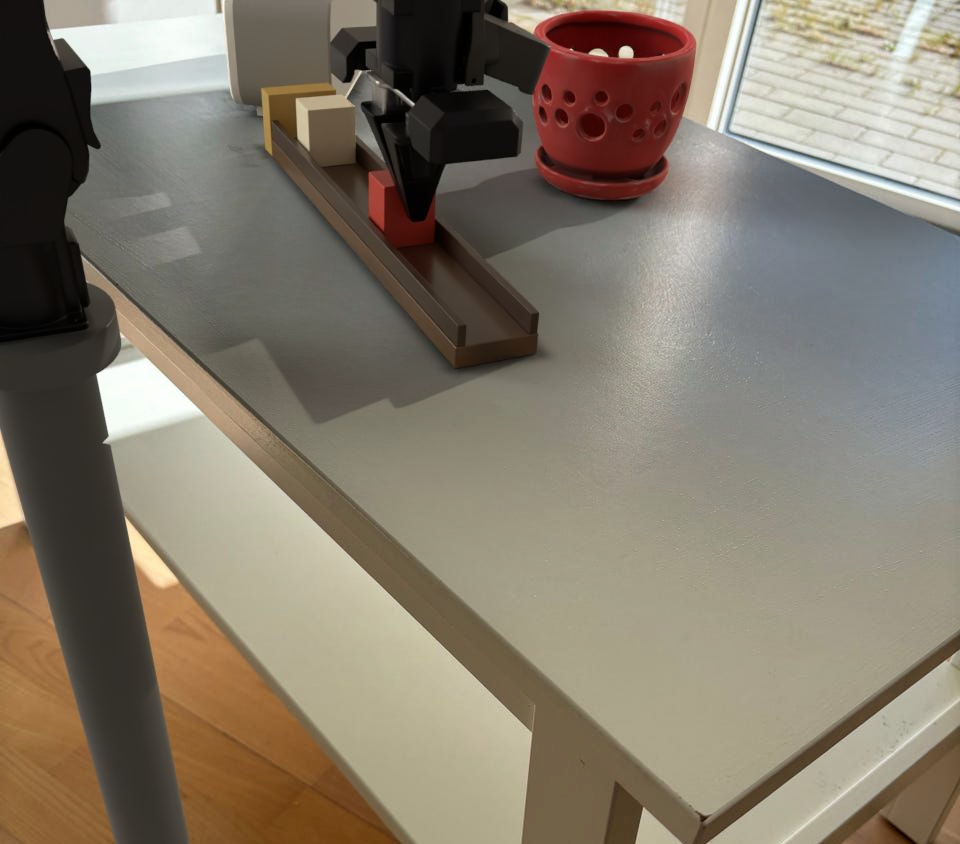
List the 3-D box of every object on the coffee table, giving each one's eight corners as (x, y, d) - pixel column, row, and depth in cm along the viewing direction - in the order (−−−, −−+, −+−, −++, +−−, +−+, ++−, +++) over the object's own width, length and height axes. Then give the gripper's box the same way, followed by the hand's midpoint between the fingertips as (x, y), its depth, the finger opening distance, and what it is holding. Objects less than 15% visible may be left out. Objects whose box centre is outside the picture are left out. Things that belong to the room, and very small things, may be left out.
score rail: (454, 369, 70) (456, 326, 68) (272, 156, 94) (269, 120, 92) (536, 354, 72) (541, 312, 70) (337, 150, 96) (336, 114, 94)
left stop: (272, 156, 94) (268, 95, 91) (265, 148, 95) (260, 87, 92) (337, 150, 96) (336, 89, 93) (330, 142, 98) (328, 82, 94)
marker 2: (383, 250, 79) (384, 187, 76) (368, 233, 81) (368, 171, 78) (434, 243, 80) (436, 181, 77) (418, 226, 82) (419, 165, 79)
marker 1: (310, 168, 89) (307, 110, 86) (298, 155, 91) (295, 98, 88) (356, 163, 90) (355, 106, 87) (343, 150, 92) (342, 94, 89)
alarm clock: (296, 39, 119) (291, -89, 111) (381, 48, 119) (381, -80, 111) (231, 123, 99) (218, -26, 91) (332, 134, 99) (328, -14, 91)
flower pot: (538, 145, 100) (552, -1, 92) (679, 168, 99) (707, 20, 90) (505, 197, 91) (517, 39, 83) (660, 223, 89) (688, 64, 81)
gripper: (614, 1, 63) (579, 260, 74) (477, -72, 75) (465, 161, 86) (438, 10, 59) (428, 283, 70) (323, -68, 71) (330, 175, 82)
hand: (416, 219), depth 77 cm, fingers closed
